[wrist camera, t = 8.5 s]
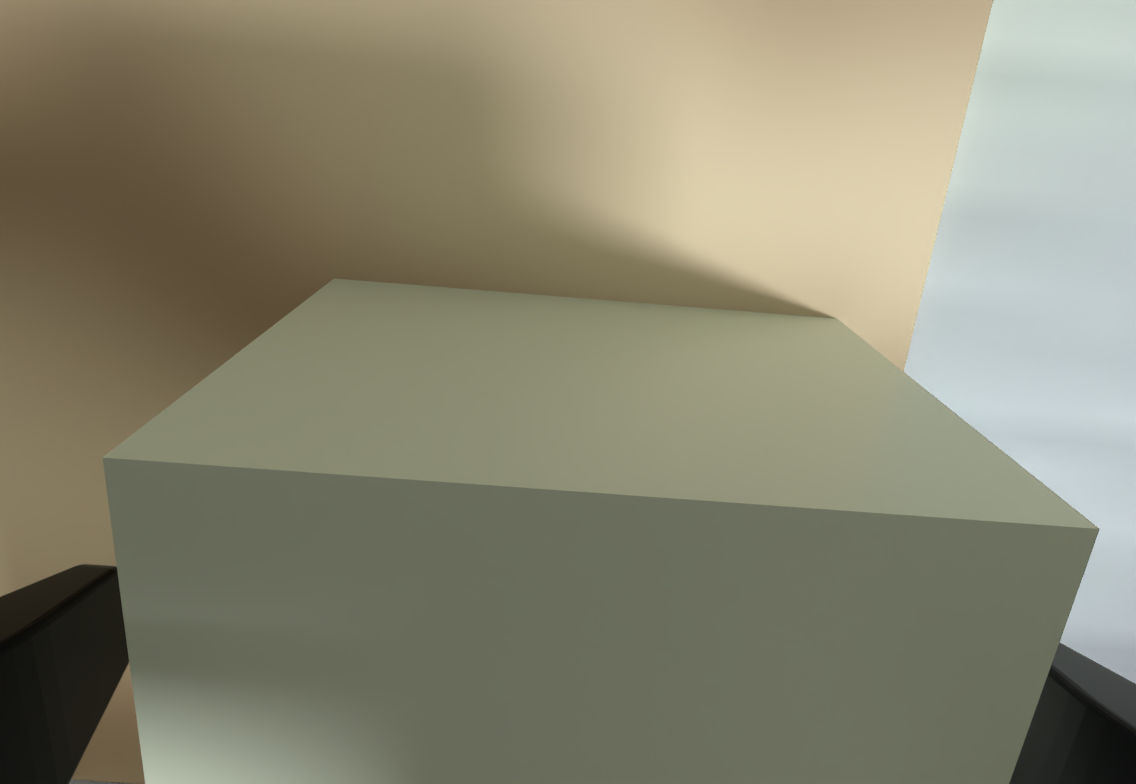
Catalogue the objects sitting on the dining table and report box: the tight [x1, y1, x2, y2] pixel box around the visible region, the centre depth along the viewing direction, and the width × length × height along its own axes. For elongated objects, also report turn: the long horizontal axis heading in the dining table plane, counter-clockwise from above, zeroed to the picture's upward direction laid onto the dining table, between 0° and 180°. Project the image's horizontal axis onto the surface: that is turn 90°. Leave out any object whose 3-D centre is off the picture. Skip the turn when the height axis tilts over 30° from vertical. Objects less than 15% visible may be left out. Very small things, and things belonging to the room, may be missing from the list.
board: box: [0, 0, 993, 784], centre depth 9 cm, size 16×18×1 cm
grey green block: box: [102, 278, 1099, 784], centre depth 8 cm, size 6×6×5 cm
